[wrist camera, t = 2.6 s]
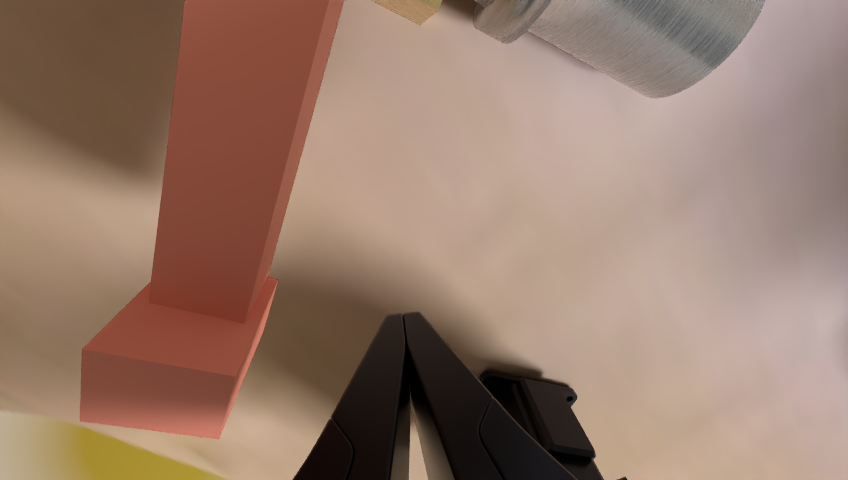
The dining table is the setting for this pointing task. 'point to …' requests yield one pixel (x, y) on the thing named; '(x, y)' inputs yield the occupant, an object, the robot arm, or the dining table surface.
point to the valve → (619, 33)
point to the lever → (214, 216)
